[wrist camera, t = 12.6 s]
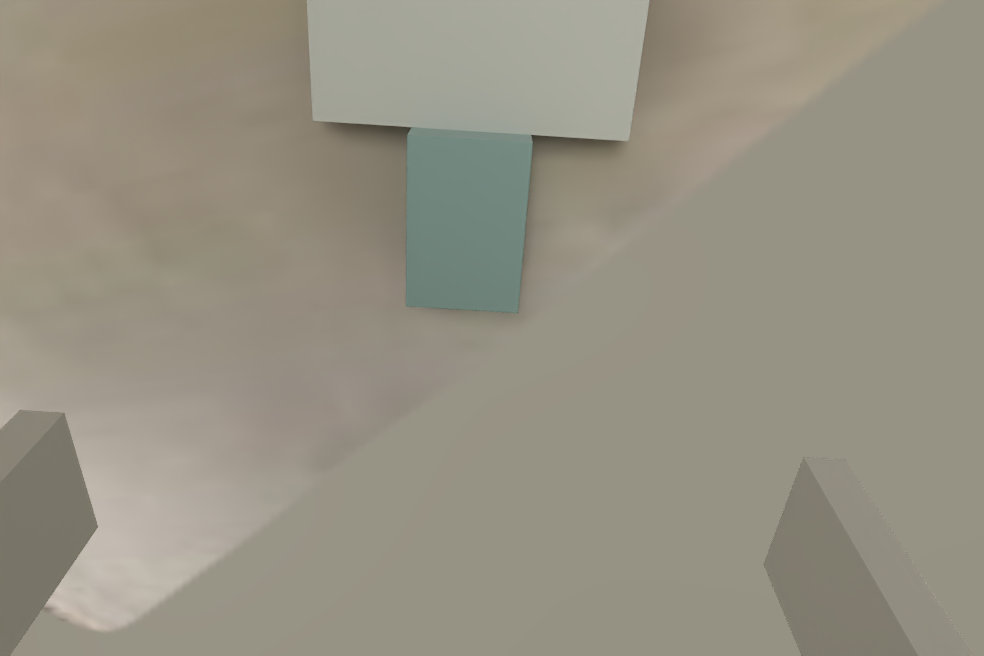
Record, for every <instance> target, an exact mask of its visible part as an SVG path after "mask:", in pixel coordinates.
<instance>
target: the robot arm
mask: <svg viewBox="0 0 984 656" xmlns="http://www.w3.org/2000/svg"><path fill="white" fill-rule="evenodd" d="M97 528H98V525H97V522H96V518H95V515H94V512H93V508H92V505H91V502H90V498H89V495H88V491H87V488H86V485H85V481H84V478H83V475H82V471H81V468H80V464H79V461H78V458H77V454H76V451H75V448H74V444H73V441H72V437H71V434H70V431H69V427H68V424H67V421H66V417H65V414H64V413H59V412H42V411H26V410H20V411H19V412H18V413H17V414H16V415H15V416H14V417H13V418H12V419H11V420H10V421H9V422H7V423H6V424H5V425H4V426H3V427H2V428H1V429H0V656H10V655H11V654H12V652H13V651H14V649H15V648H16V646H17V645H18V643H19V642H20V640H21V639H22V637H23V636H24V634H25V633H26V631H27V630H28V629H29V627H30V626H31V624H32V623H33V621H34V620H35V618H36V617H37V615H38V614H39V613H40V611H41V610H42V608H43V607H44V605H45V604H46V602H47V601H48V599H49V598H50V596H51V595H52V593H53V592H54V591H55V589H56V588H57V586H58V585H59V583H60V582H61V580H62V579H63V577H64V576H65V574H66V573H67V572H68V570H69V569H70V567H71V566H72V564H73V563H74V561H75V560H76V558H77V557H78V555H79V554H80V552H81V551H82V550H83V548H84V547H85V545H86V544H87V542H88V541H89V539H90V538H91V536H92V535H93V533H94V532H95V531H96V529H97ZM764 566H765V569H766V571H767V574H768V576H769V579H770V581H771V583H772V586H773V588H774V591H775V593H776V595H777V598H778V600H779V603H780V605H781V607H782V610H783V612H784V615H785V617H786V619H787V622H788V624H789V627H790V629H791V631H792V634H793V636H794V639H795V641H796V644H797V646H798V648H799V651H800V653H801V656H974V655H973V653H972V652H971V651H970V649H969V647H968V646H967V644H966V643H965V641H964V640H963V638H962V637H961V635H960V634H959V632H958V631H957V629H956V627H955V626H954V624H953V623H952V621H951V620H950V618H949V617H948V615H947V614H946V612H945V611H944V609H943V608H942V606H941V605H940V603H939V602H938V600H937V598H936V597H935V596H934V594H933V593H932V591H931V589H930V588H929V586H928V585H927V584H926V582H925V580H924V579H923V577H922V576H921V574H920V573H919V571H918V569H917V568H916V567H915V565H914V563H913V562H912V560H911V559H910V557H909V556H908V554H907V553H906V551H905V550H904V548H903V547H902V545H901V544H900V542H899V540H898V539H897V537H896V536H895V535H894V533H893V532H892V530H891V528H890V527H889V525H888V524H887V522H886V521H885V519H884V518H883V516H882V515H881V513H880V512H879V510H878V508H877V507H876V506H875V504H874V502H873V501H872V499H871V498H870V497H869V495H868V493H867V492H866V490H865V489H864V487H863V486H862V484H861V483H860V481H859V480H858V478H857V476H856V475H855V473H854V472H853V470H852V469H851V467H850V466H849V464H848V463H847V461H846V460H843V459H827V458H810V457H803V460H802V462H801V465H800V468H799V470H798V473H797V476H796V478H795V481H794V484H793V486H792V489H791V492H790V495H789V498H788V500H787V503H786V506H785V509H784V511H783V514H782V516H781V519H780V522H779V524H778V527H777V530H776V532H775V535H774V538H773V540H772V543H771V546H770V549H769V552H768V554H767V557H766V559H765V563H764Z"/></svg>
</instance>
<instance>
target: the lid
mask: <svg viewBox="0 0 984 656" xmlns="http://www.w3.org/2000/svg"><path fill="white" fill-rule="evenodd" d="M649 1H650V0H307V17H308V37H309V56H310V76H311V95H312V115H313V121H324V122H339V123H355V124H370V125H386V126H401V127H412V128H411V129H410V131H409V133H408V134H407V226H406V306H408V307H425V308H442V309H459V310H475V311H492V312H509V313H518V307H519V296H520V284H521V273H522V261H523V250H524V238H525V227H526V215H527V203H528V192H529V180H530V169H531V157H532V146H533V142H532V137H531V135H540V136H555V137H571V138H586V139H602V140H617V141H629V137H630V130H631V123H632V116H633V110H634V103H635V96H636V89H637V82H638V75H639V69H640V62H641V55H642V48H643V41H644V35H645V28H646V21H647V14H648V7H649Z"/></svg>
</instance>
